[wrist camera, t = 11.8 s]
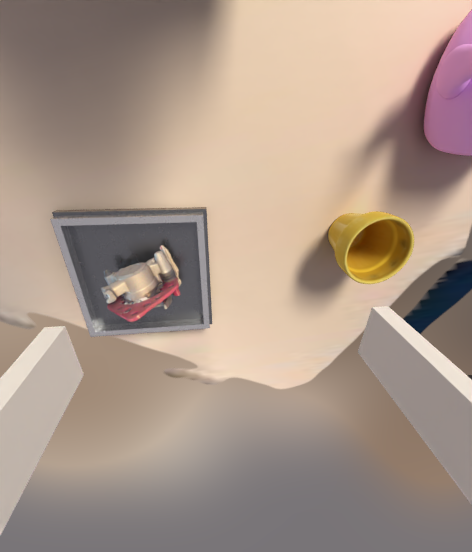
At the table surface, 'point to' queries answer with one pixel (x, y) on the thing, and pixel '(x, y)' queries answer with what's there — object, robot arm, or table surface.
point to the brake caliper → (142, 286)
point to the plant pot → (371, 245)
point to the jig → (136, 249)
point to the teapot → (452, 96)
